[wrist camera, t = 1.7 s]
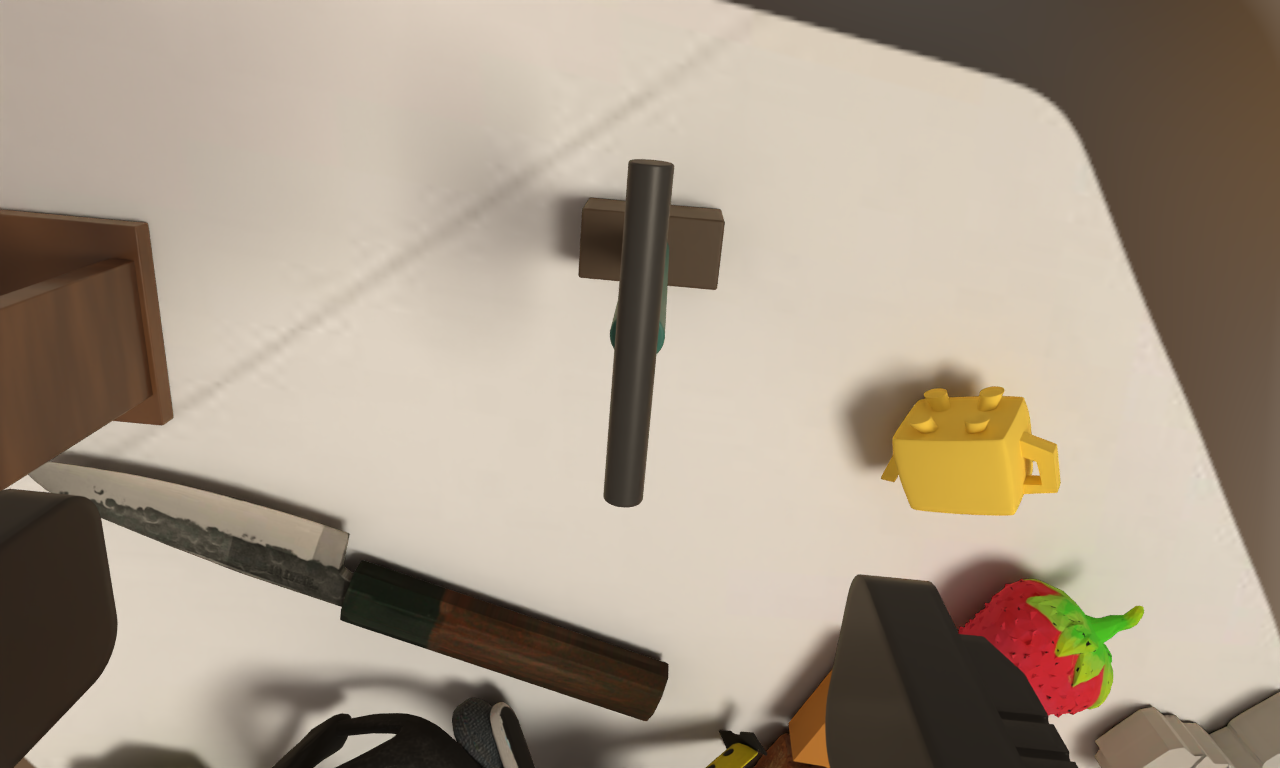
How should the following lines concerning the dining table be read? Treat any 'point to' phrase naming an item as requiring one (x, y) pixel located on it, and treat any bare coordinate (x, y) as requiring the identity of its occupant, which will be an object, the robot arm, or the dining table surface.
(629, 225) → the green t-shaped stand
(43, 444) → the wooden rack
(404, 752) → the virtual reality headset
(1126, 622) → the strawberry
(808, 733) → the wooden plank
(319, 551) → the kitchen knife
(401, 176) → the dining table surface
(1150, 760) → the toy gun
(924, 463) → the yellow studded block
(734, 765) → the tape measure
